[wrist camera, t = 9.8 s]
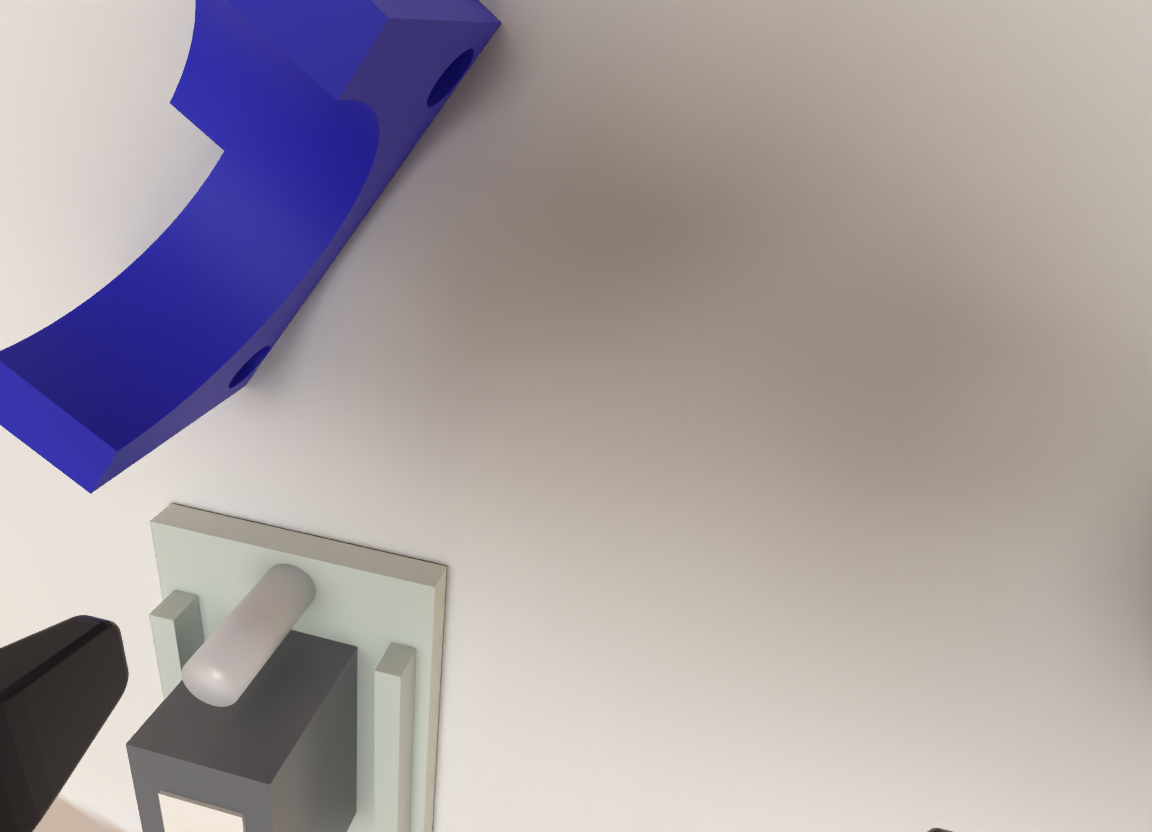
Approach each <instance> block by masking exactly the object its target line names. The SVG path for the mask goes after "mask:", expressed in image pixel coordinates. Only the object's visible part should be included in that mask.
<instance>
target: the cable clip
mask: <svg viewBox="0 0 1152 832" xmlns="http://www.w3.org/2000/svg"><path fill="white" fill-rule="evenodd" d="M500 24H501V22H500V21H499V20H498V19H497V18H496V17H495V16H494V15H493V14H492V13H491V12H490V11H489V10H488V9H487V8H486V7H485V6H483V5H482V4H481V3H480V2H479V1H478V0H196V10H195V25H194V31H193V38H192V43H191V47H190V51H189V55H188V59H187V62H186V65H185V68H184V71H183V74H182V76H181V79H180V81H179V84H178V86H177V88H176V91H175V93H174V95H173V97H172V99H171V101H170V104H171V105H173V106H174V107H175V108H176V109H177V110H178V111H179V112H181V113H182V114H183V115H184V116H185V117H186V118H187V119H189V120H190V121H191V122H192V123H193V124H194V125H195V126H197V127H198V128H199V129H200V130H201V131H202V132H204V133H205V134H206V135H207V136H208V137H209V138H210V139H212V140H213V141H214V142H215V143H216V144H217V145H218V146H220V147H221V148H222V149H223V150H224V153H223V154H222V156H221V158H220V159H219V161H218V162H217V164H216V166H215V167H214V169H213V170H212V172H211V173H210V175H209V177H208V178H207V179H206V181H205V182H204V184H203V185H202V186H201V188H200V189H199V191H198V192H197V193H196V195H195V196H194V197H193V198H192V200H191V201H190V202H189V204H188V205H187V206H186V207H185V209H184V210H183V211H182V212H181V213H180V214H179V216H178V217H177V218H176V219H175V220H174V221H173V223H172V224H171V225H170V226H169V227H168V228H167V229H166V230H165V231H164V232H163V234H162V235H161V236H160V237H159V238H158V239H157V240H156V241H155V242H154V243H153V244H152V245H151V246H150V247H149V248H148V249H147V250H146V251H145V252H144V253H143V254H142V255H141V256H140V257H139V258H137V259H136V260H135V261H134V262H133V263H132V264H131V265H130V266H129V267H128V268H127V269H125V270H124V271H123V272H122V273H121V274H120V275H118V276H117V277H116V278H115V279H114V280H112V281H111V282H110V283H109V284H108V285H106V286H105V287H104V288H102V289H101V290H100V291H99V292H97V293H96V294H95V295H93V296H92V297H91V298H89V299H88V300H87V301H85V302H84V303H82V304H81V305H80V306H78V307H77V308H75V309H74V310H72V311H71V312H69V313H68V314H66V315H65V316H63V317H62V318H60V319H59V320H57V321H55V322H54V323H52V324H51V325H49V326H47V327H46V328H44V329H42V330H40V331H39V332H37V333H35V334H34V335H32V336H30V337H28V338H26V339H24V340H22V341H20V342H18V343H16V344H14V345H12V346H10V347H8V348H6V349H4V350H1V351H0V425H1V426H2V427H4V428H5V429H6V430H8V431H9V432H10V433H12V434H13V435H14V436H16V437H17V438H18V439H20V440H21V441H22V442H23V443H25V444H26V445H27V446H29V447H30V448H31V449H33V450H34V451H35V452H37V453H38V454H39V455H41V456H42V457H43V458H45V459H46V460H47V461H48V462H50V463H51V464H52V465H54V466H55V467H56V468H58V469H59V470H60V471H62V472H63V473H64V474H66V475H67V476H68V477H69V478H71V479H72V480H73V481H75V482H76V483H77V484H79V485H80V486H81V487H83V488H84V489H85V490H87V491H88V492H89V493H92V492H94V491H95V490H97V489H98V488H99V487H101V486H102V485H104V484H105V483H107V482H108V481H109V480H111V479H112V478H114V477H115V476H117V475H118V474H119V473H121V472H122V471H124V470H125V469H127V468H128V467H129V466H131V465H132V464H134V463H135V462H137V461H138V460H140V459H141V458H142V457H144V456H145V455H147V454H148V453H150V452H151V451H152V450H154V449H155V448H157V447H158V446H160V445H161V444H162V443H164V442H165V441H167V440H168V439H170V438H171V437H172V436H174V435H175V434H177V433H178V432H180V431H181V430H182V429H184V428H185V427H187V426H188V425H190V424H191V423H193V422H194V421H195V420H197V419H198V418H200V417H201V416H203V415H204V414H205V413H207V412H208V411H210V410H211V409H213V408H214V407H215V406H217V405H218V404H220V403H221V402H223V401H224V400H225V399H227V398H228V397H230V396H231V395H233V394H234V393H235V392H237V391H238V390H240V389H241V388H243V387H244V386H245V385H246V384H247V382H248V381H249V379H250V378H251V377H252V375H253V374H254V372H255V371H256V370H257V368H258V367H259V365H260V364H261V362H262V361H263V360H264V358H265V357H266V355H267V354H268V353H269V351H270V350H271V348H272V347H273V346H274V344H275V343H276V341H277V340H278V338H279V337H280V336H281V334H282V333H283V331H284V330H285V329H286V327H287V326H288V324H289V323H290V321H291V320H292V319H293V317H294V316H295V314H296V313H297V312H298V310H299V309H300V307H301V306H302V304H303V303H304V302H305V300H306V299H307V297H308V296H309V295H310V293H311V292H312V290H313V289H314V287H315V286H316V285H317V283H318V282H319V280H320V279H321V278H322V276H323V275H324V273H325V272H326V271H327V269H328V268H329V266H330V265H331V263H332V262H333V261H334V259H335V258H336V256H337V255H338V254H339V252H340V251H341V249H342V248H343V246H344V245H345V244H346V242H347V241H348V239H349V238H350V237H351V235H352V234H353V232H354V231H355V229H356V228H357V227H358V225H359V224H360V222H361V221H362V220H363V218H364V217H365V215H366V214H367V213H368V211H369V210H370V208H371V207H372V205H373V204H374V203H375V201H376V200H377V198H378V197H379V196H380V194H381V193H382V191H383V190H384V188H385V187H386V186H387V184H388V183H389V181H390V180H391V179H392V177H393V176H394V174H395V173H396V171H397V170H398V169H399V167H400V166H401V164H402V163H403V162H404V160H405V159H406V157H407V156H408V154H409V153H410V152H411V150H412V149H413V147H414V146H415V145H416V143H417V142H418V140H419V139H420V138H421V136H422V135H423V133H424V132H425V130H426V129H427V128H428V126H429V125H430V123H431V122H432V121H433V119H434V118H435V116H436V115H437V113H438V112H439V111H440V109H441V108H442V106H443V105H444V104H445V102H446V101H447V99H448V98H449V96H450V95H451V94H452V92H453V91H454V89H455V88H456V87H457V85H458V84H459V82H460V81H461V80H462V78H463V77H464V75H465V74H466V72H467V71H468V70H469V68H470V67H471V65H472V64H473V63H474V61H475V60H476V58H477V57H478V55H479V54H480V53H481V51H482V50H483V48H484V47H485V46H486V44H487V43H488V41H489V40H490V38H491V37H492V36H493V34H494V33H495V31H496V30H497V29H498V27H499V26H500Z"/></svg>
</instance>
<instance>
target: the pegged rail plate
mask: <svg viewBox="0 0 1152 832" xmlns="http://www.w3.org/2000/svg"><path fill="white" fill-rule="evenodd" d="M150 525H151V531H152V537H153V543H154V550H155V556H156V562H157V568H158V574H159V580H160V587H161V593H162V599H163V602H162V603H161V604H160V605H158V606H157V607H156V608H155V609H154V610H153V611H152V612H151V613H150V614H149V617H150V623H151V629H152V634H153V640H154V646H155V652H156V657H157V663H158V669H159V674H160V680H161V686H162V692H163V697H164V700H165V699H166V698H167V696H168V695H169V694H170V693H171V692H172V691H173V690H174V688H175V687H176V686H177V685H178V684H179V683H180V682H181V680H182V679H183V682H184V684H185V686H186V687H187V689H188V690H189V691H190V692H191V693H192V694H193V695H194V696H195V697H197V698H198V699H200V700H201V701H203V702H205V703H207V704H210V705H213V706H218V707H226V706H230V705H232V704H234V703H235V702H236V701H237V700H238V698H239V697H240V696H241V695H242V693H243V692H244V691H245V689H246V688H247V687H248V685H249V684H250V683H251V681H252V680H253V679H254V677H255V676H256V675H257V674H258V672H259V671H260V670H261V668H262V667H263V666H264V664H265V663H266V662H267V660H268V659H269V658H270V657H271V655H272V654H273V653H274V651H275V650H276V649H277V647H278V646H279V645H280V643H281V642H282V641H283V640H284V638H285V637H286V636H287V634H288V633H289V632H290V630H295V631H299V632H303V633H306V634H310V635H314V636H318V637H322V638H326V639H330V640H334V641H338V642H342V643H345V644H349V645H353V646H357V647H358V649H357V802H356V814H355V816H354V818H353V820H352V822H351V824H350V826H349V828H348V830H347V832H432V826H433V808H434V790H435V771H436V753H437V735H438V717H439V699H440V681H441V663H442V645H443V627H444V608H445V590H446V572H447V566H443V565H439V564H434V563H430V562H425V561H421V560H417V559H412V558H408V557H404V556H399V555H395V554H390V553H386V552H382V551H377V550H373V549H369V548H364V547H360V546H355V545H351V544H347V543H342V542H338V541H333V540H329V539H325V538H320V537H316V536H312V535H307V534H303V533H298V532H294V531H290V530H285V529H281V528H277V527H272V526H268V525H263V524H259V523H255V522H250V521H246V520H241V519H237V518H233V517H228V516H224V515H220V514H215V513H211V512H206V511H202V510H198V509H193V508H189V507H185V506H180V505H176V504H170V505H169V506H168V507H167V508H166V509H164V510H163V511H162V512H161V513H159V514H158V515H157V516H156V517H155V518H153V519H152V520H151V521H150Z"/></svg>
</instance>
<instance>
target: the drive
mask: <svg viewBox="0 0 1152 832" xmlns="http://www.w3.org/2000/svg"><path fill="white" fill-rule="evenodd" d="M357 649H358V647H357V646H353V645H349V644H345V643H342V642H338V641H334V640H330V639H326V638H322V637H318V636H314V635H310V634H306V633H303V632H299V631H295V630H290V632H289V633H288V634H287V636H286V637H285V638H284V640H283V641H282V642H281V643H280V645H279V646H278V647H277V649H276V650H275V651H274V653H273V654H272V655H271V657H270V658H269V659H268V660H267V662H266V663H265V664H264V666H263V667H262V668H261V670H260V671H259V672H258V674H257V675H256V676H255V677H254V679H253V680H252V681H251V683H250V684H249V685H248V687H247V688H246V689H245V691H244V692H243V693H242V695H241V696H240V697H239V698H238V700H237V701H236V702H235V703H234V704H232V705H230V706H226V707H218V706H213V705H210V704H207V703H205V702H203V701H201V700H200V699H198V698H197V697H195V696H194V695H193V694H192V693H191V692H190V691H189V690H188V689H187V687H186V686H185V684H184V682H183V679H182V680H181V682H180V683H179V684H178V685H177V686H176V687H175V688H174V690H173V691H172V692H171V693H170V694H169V695H168V696H167V698H166V699H165V700H164V701H163V702H162V703H161V704H160V706H159V707H158V708H157V709H156V710H155V711H154V712H153V714H152V715H151V716H150V717H149V718H148V719H147V720H146V722H145V723H144V724H143V725H142V726H141V727H140V729H139V730H138V731H137V732H136V733H135V734H134V735H133V737H132V738H131V739H130V740H129V741H128V742H127V743H126V748H127V753H128V758H129V763H130V768H131V773H132V778H133V783H134V788H135V794H136V799H137V804H138V809H139V814H140V819H141V824H142V829H143V832H347V830H348V828H349V826H350V824H351V822H352V820H353V818H354V816H355V814H356V802H357Z"/></svg>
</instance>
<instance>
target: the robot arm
mask: <svg viewBox="0 0 1152 832" xmlns="http://www.w3.org/2000/svg"><path fill="white" fill-rule="evenodd" d="M128 675H129V673H128V667H127V662H126V657H125V652H124V647H123V642H122V637H121V632H120V629H119V627H118V626H117V625H116V624H115V623H114V622H112V621H109V620H105V619H101V618H97V617H93V616H88V615H79V616H75V617H72V618H70V619H67V620H65V621H63V622H60V623H58V624H56V625H53V626H51V627H49V628H46V629H44V630H42V631H39V632H37V633H35V634H32V635H30V636H28V637H25V638H23V639H21V640H18V641H16V642H14V643H11V644H9V645H7V646H4V647H2V648H0V832H32V831H33V830H34V829H35V827H36V826H37V825H38V823H39V822H40V821H41V819H42V818H43V816H44V815H45V813H46V812H47V810H48V809H49V807H50V806H51V805H52V803H53V802H54V800H55V799H56V797H57V796H58V794H59V793H60V791H61V790H62V788H63V786H64V785H65V783H66V782H67V780H68V779H69V777H70V776H71V774H72V773H73V771H74V769H75V768H76V766H77V765H78V763H79V762H80V760H81V759H82V757H83V756H84V754H85V752H86V751H87V749H88V748H89V746H90V745H91V743H92V742H93V740H94V739H95V737H96V735H97V734H98V732H99V731H100V729H101V728H102V726H103V725H104V723H105V722H106V720H107V718H108V717H109V715H110V714H111V712H112V711H113V709H114V708H115V706H116V705H117V703H118V701H119V700H120V698H121V697H122V695H123V693H124V691H125V688H126V685H127V682H128ZM928 832H952V831H948V830H944V829H940V828H933V829H931V830H929V831H928Z"/></svg>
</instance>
